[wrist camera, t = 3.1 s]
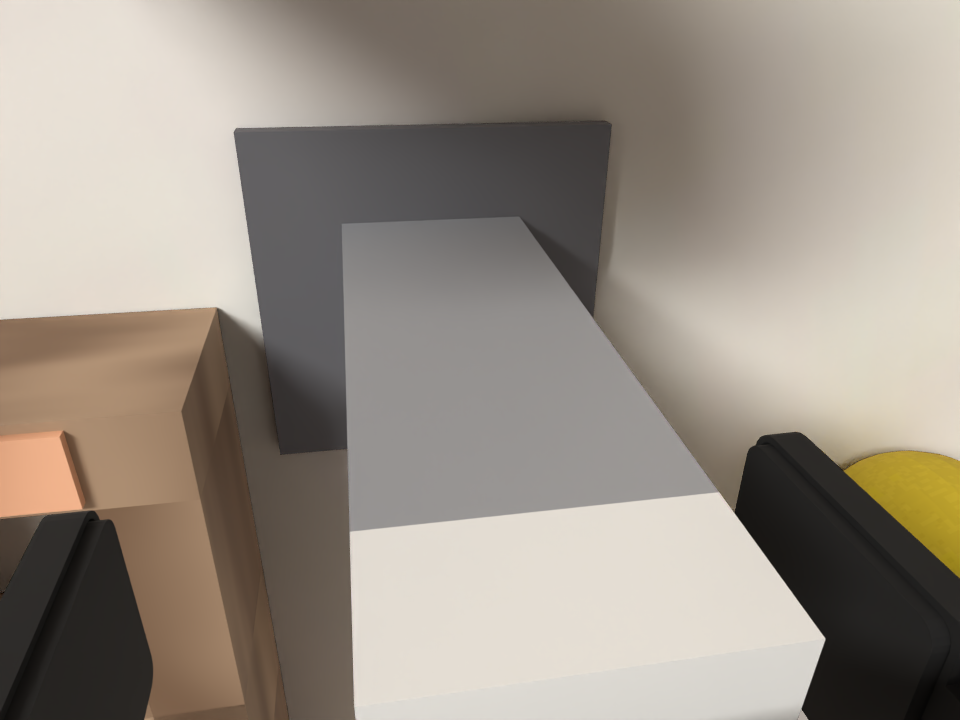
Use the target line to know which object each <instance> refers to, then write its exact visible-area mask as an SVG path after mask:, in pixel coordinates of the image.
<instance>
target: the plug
mask: <svg viewBox="0 0 960 720" xmlns="http://www.w3.org/2000/svg"><path fill="white" fill-rule="evenodd" d="M342 253H343V292H344V331H345V370H346V408H347V447H348V486H349V525H350V563H351V602H352V641H353V680H354V710H355V719H356V720H798V717H799V714H800V711H801V708H802V706H803V703H804V700H805V697H806V694H807V691H808V688H809V685H810V682H811V680H812V677H813V674H814V671H815V668H816V665H817V662H818V659H819V656H820V654H821V651H822V648H823V645H824V642H825V637H824V636H823V635H822V633H821V632H820V631H819V629H818V628H817V626H816V625H815V624H814V622H813V621H812V620H811V618H810V617H809V615H808V614H807V613H806V611H805V610H804V608H803V607H802V606H801V604H800V603H799V602H798V600H797V599H796V597H795V596H794V595H793V593H792V592H791V591H790V589H789V588H788V586H787V585H786V584H785V582H784V581H783V580H782V578H781V577H780V575H779V574H778V573H777V571H776V570H775V568H774V567H773V566H772V564H771V563H770V562H769V560H768V559H767V557H766V556H765V555H764V553H763V552H762V551H761V549H760V548H759V546H758V545H757V544H756V542H755V541H754V540H753V538H752V537H751V535H750V534H749V533H748V531H747V530H746V529H745V527H744V526H743V524H742V523H741V522H740V520H739V519H738V517H737V516H736V515H735V513H734V512H733V511H732V509H731V508H730V506H729V505H728V504H727V502H726V501H725V500H724V498H723V497H722V495H721V494H720V493H719V491H718V490H717V489H716V487H715V486H714V484H713V483H712V482H711V480H710V479H709V477H708V476H707V475H706V473H705V472H704V471H703V469H702V468H701V466H700V465H699V464H698V462H697V461H696V460H695V458H694V457H693V455H692V454H691V453H690V451H689V450H688V449H687V447H686V446H685V444H684V443H683V442H682V440H681V439H680V437H679V436H678V435H677V433H676V432H675V431H674V429H673V428H672V426H671V425H670V424H669V422H668V421H667V420H666V418H665V417H664V415H663V414H662V413H661V411H660V410H659V409H658V407H657V406H656V404H655V403H654V402H653V400H652V399H651V397H650V396H649V395H648V393H647V392H646V391H645V389H644V388H643V386H642V385H641V384H640V382H639V381H638V380H637V378H636V377H635V375H634V374H633V373H632V371H631V370H630V369H629V367H628V366H627V364H626V363H625V362H624V360H623V359H622V358H621V356H620V355H619V353H618V352H617V351H616V349H615V348H614V346H613V345H612V344H611V342H610V341H609V340H608V338H607V337H606V335H605V334H604V333H603V331H602V330H601V329H600V327H599V326H598V324H597V323H596V322H595V320H594V319H593V318H592V316H591V315H590V313H589V312H588V311H587V309H586V308H585V306H584V305H583V304H582V302H581V301H580V300H579V298H578V297H577V295H576V294H575V293H574V291H573V290H572V289H571V287H570V286H569V284H568V283H567V282H566V280H565V279H564V278H563V276H562V275H561V273H560V272H559V271H558V269H557V268H556V266H555V265H554V264H553V262H552V261H551V260H550V258H549V257H548V255H547V254H546V253H545V251H544V250H543V249H542V247H541V246H540V244H539V243H538V242H537V240H536V239H535V238H534V236H533V235H532V233H531V232H530V231H529V229H528V228H527V226H526V225H525V224H524V222H523V221H522V220H521V218H520V217H496V218H471V219H447V220H423V221H398V222H374V223H349V224H342Z"/></svg>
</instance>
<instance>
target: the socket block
mask: <svg viewBox="0 0 960 720" xmlns="http://www.w3.org/2000/svg"><path fill="white" fill-rule="evenodd" d="M88 510H92V511H95V512H96V513H97V515H98V516H99V519H100V520H106V519H110V520H112V522H113V523H114V526H115V528H116V532H117V535H118V539H119V542H120V546H121V550H122V553H123V557H124V560H125V564H126V567H127V571H128V574H129V578H130V581H131V585H132V588H133V592H134V596H135V599H136V603H137V606H138V610H139V613H140V617H141V620H142V624H143V627H144V631H145V634H146V638H147V642H148V645H149V649H150V652H151V656H152V661H153V683H152V688H151V693H150V697H149V701H148V706H147V710H146V714H145V718H144V720H289V716H288V710H287V705H286V699H285V693H284V688H283V682H282V676H281V671H280V665H279V659H278V653H277V648H276V642H275V636H274V631H273V625H272V619H271V614H270V608H269V602H268V597H267V591H266V585H265V579H264V574H263V568H262V562H261V557H260V551H259V545H258V540H257V534H256V528H255V522H254V517H253V511H252V505H251V500H250V494H249V488H248V483H247V477H246V471H245V466H244V460H243V454H242V448H241V443H240V437H239V431H238V426H237V420H236V414H235V409H234V403H233V397H232V391H231V386H230V380H229V374H228V369H227V363H226V357H225V352H224V346H223V340H222V335H221V329H220V323H219V317H218V312H217V307H216V308H199V309H182V310H164V311H147V312H129V313H112V314H94V315H77V316H60V317H42V318H25V319H7V320H0V519H7V518H18V517H28V516H38V515H49V514H59V513H69V512H79V511H88ZM3 594H4V593H3ZM3 594H0V600H1V598H2V596H3Z"/></svg>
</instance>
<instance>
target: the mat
mask: <svg viewBox="0 0 960 720" xmlns="http://www.w3.org/2000/svg"><path fill="white" fill-rule="evenodd" d="M611 126H612V124H610V123H608V122H607V121H580V122H530V123H481V124H431V125H381V126H331V127H282V128H236V129H235V131H234V137H235V144H236V151H237V158H238V165H239V172H240V179H241V186H242V192H243V199H244V206H245V213H246V220H247V227H248V234H249V241H250V248H251V255H252V261H253V268H254V275H255V282H256V289H257V296H258V303H259V310H260V317H261V324H262V330H263V337H264V344H265V351H266V358H267V365H268V372H269V379H270V386H271V392H272V399H273V406H274V413H275V420H276V427H277V434H278V441H279V448H280V455H282V454H294V453H305V452H316V451H327V450H338V449H348V447H347V408H346V370H345V331H344V292H343V253H342V224H349V223H374V222H398V221H423V220H447V219H471V218H496V217H520V218H521V220H522V221H523V222H524V224H525V225H526V226H527V228H528V229H529V231H530V232H531V233H532V235H533V236H534V238H535V239H536V240H537V242H538V243H539V244H540V246H541V247H542V249H543V250H544V251H545V253H546V254H547V255H548V257H549V258H550V260H551V261H552V262H553V264H554V265H555V266H556V268H557V269H558V271H559V272H560V273H561V275H562V276H563V278H564V279H565V280H566V282H567V283H568V284H569V286H570V287H571V289H572V290H573V291H574V293H575V294H576V295H577V297H578V298H579V300H580V301H581V302H582V304H583V305H584V306H585V308H586V309H587V311H588V312H589V313H590V315H591V316H592V318H593V312H594V302H595V292H596V281H597V271H598V261H599V250H600V240H601V230H602V219H603V209H604V198H605V188H606V178H607V167H608V157H609V147H610V136H611Z"/></svg>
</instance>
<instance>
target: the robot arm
mask: <svg viewBox="0 0 960 720" xmlns="http://www.w3.org/2000/svg"><path fill="white" fill-rule="evenodd" d="M735 515H736V516H737V517H738V519H739V520H740V522H741V523H742V524H743V526H744V527H745V529H746V530H747V531H748V533H749V534H750V535H751V537H752V538H753V540H754V541H755V542H756V544H757V545H758V546H759V548H760V549H761V551H762V552H763V553H764V555H765V556H766V557H767V559H768V560H769V562H770V563H771V564H772V566H773V567H774V568H775V570H776V571H777V573H778V574H779V575H780V577H781V578H782V580H783V581H784V582H785V584H786V585H787V586H788V588H789V589H790V591H791V592H792V593H793V595H794V596H795V597H796V599H797V600H798V602H799V603H800V604H801V606H802V607H803V608H804V610H805V611H806V613H807V614H808V615H809V617H810V618H811V620H812V621H813V622H814V624H815V625H816V626H817V628H818V629H819V631H820V632H821V633H822V635H823V636H824V637H825V642H824V645H823V648H822V651H821V654H820V656H819V659H818V662H817V665H816V668H815V671H814V674H813V677H812V680H811V682H810V685H809V688H808V691H807V694H806V697H805V700H804V703H803V706H802V708H801V709H802V711H803V712H804V713H805V715H806V716H807V718H808V720H960V578H959V577H958V576H957V575H956V574H954V573H953V572H952V571H951V570H950V569H949V568H948V567H947V566H946V565H945V564H944V563H943V562H941V561H940V560H939V559H938V558H937V557H936V556H935V555H934V554H933V553H932V552H931V551H930V550H928V549H927V548H926V547H925V546H924V545H923V544H922V543H921V542H920V541H919V540H918V539H917V538H915V537H914V536H913V535H912V534H911V533H910V532H909V531H908V530H907V529H906V528H905V527H904V526H902V525H901V524H900V523H899V522H898V521H897V520H896V519H895V518H894V517H893V516H892V515H891V514H889V513H888V512H887V511H886V510H885V509H884V508H883V507H882V506H881V505H880V504H879V503H878V502H876V501H875V500H874V499H873V498H872V497H871V496H870V495H869V494H868V493H867V492H866V491H865V490H863V489H862V488H861V487H860V486H859V485H858V484H857V483H856V482H855V481H854V480H853V479H852V478H850V477H849V476H848V475H847V474H846V473H845V472H844V471H843V470H842V469H841V468H840V467H839V466H837V465H836V464H835V463H834V462H833V461H832V460H831V459H830V458H829V457H828V456H827V455H826V454H824V453H823V452H822V451H821V450H820V449H819V448H818V447H817V446H816V445H815V444H814V443H813V442H811V441H810V440H809V439H808V438H807V437H806V436H805V435H803V434H802V433H799V432H790V433H781V434H772V435H765V436H762V437H760V439H759V440H758V441H757V444H756V446H753V447H751V448H750V449H749V451H748V454H747V457H746V462H745V467H744V471H743V476H742V481H741V486H740V490H739V495H738V500H737V504H736V509H735ZM152 683H153V661H152V656H151V652H150V649H149V645H148V642H147V638H146V634H145V631H144V627H143V624H142V620H141V617H140V613H139V610H138V606H137V603H136V599H135V596H134V592H133V588H132V585H131V581H130V578H129V574H128V571H127V567H126V564H125V560H124V557H123V553H122V550H121V546H120V542H119V539H118V535H117V532H116V528H115V526H114V523H113V522H112V520H110V519H106V520H100V519H99V516H98V515H97V513H96V512H95V511H92V510H88V511H79V512H70V513H61V514H52V515H47V516H45V517H44V518H43V519H42V521H41V522H40V524H39V526H38V528H37V530H36V532H35V534H34V536H33V537H32V539H31V541H30V543H29V545H28V547H27V549H26V551H25V553H24V555H23V557H22V559H21V561H20V563H19V565H18V567H17V569H16V571H15V573H14V575H13V577H12V579H11V580H10V582H9V584H8V586H7V588H6V590H5V592H4V594H3V596H2V598H1V600H0V720H144V718H145V714H146V710H147V706H148V701H149V697H150V693H151V688H152Z"/></svg>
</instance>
